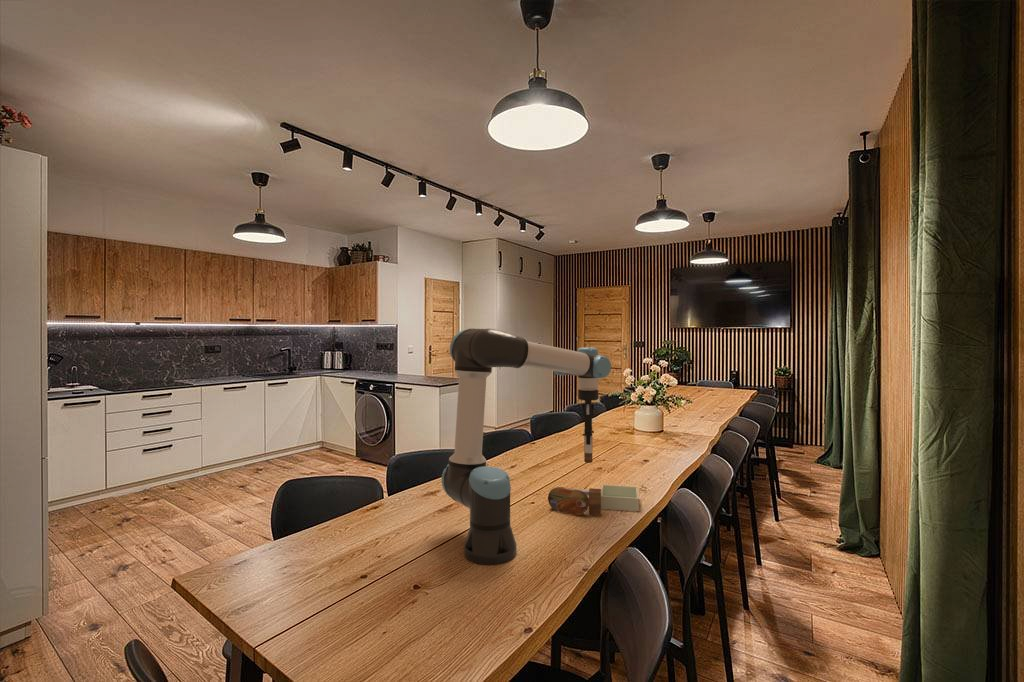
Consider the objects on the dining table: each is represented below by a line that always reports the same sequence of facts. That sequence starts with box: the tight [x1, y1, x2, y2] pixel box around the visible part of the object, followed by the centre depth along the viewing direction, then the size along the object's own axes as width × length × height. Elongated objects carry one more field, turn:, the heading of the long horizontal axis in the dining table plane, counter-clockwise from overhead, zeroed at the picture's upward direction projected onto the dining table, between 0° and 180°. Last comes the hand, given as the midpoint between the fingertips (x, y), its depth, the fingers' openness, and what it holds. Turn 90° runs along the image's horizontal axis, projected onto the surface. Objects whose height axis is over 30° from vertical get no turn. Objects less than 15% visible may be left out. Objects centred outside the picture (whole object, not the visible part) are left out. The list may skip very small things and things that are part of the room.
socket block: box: [575, 488, 589, 499], centre depth 179 cm, size 9×9×3 cm
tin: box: [547, 486, 589, 516], centre depth 168 cm, size 15×3×8 cm, turn 58°
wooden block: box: [588, 487, 602, 517], centre depth 167 cm, size 4×4×8 cm
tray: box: [600, 484, 640, 512], centre depth 176 cm, size 13×13×5 cm
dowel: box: [583, 428, 593, 464], centre depth 178 cm, size 3×3×12 cm
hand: (588, 451), depth 178 cm, fingers closed on dowel, 2 cm apart
